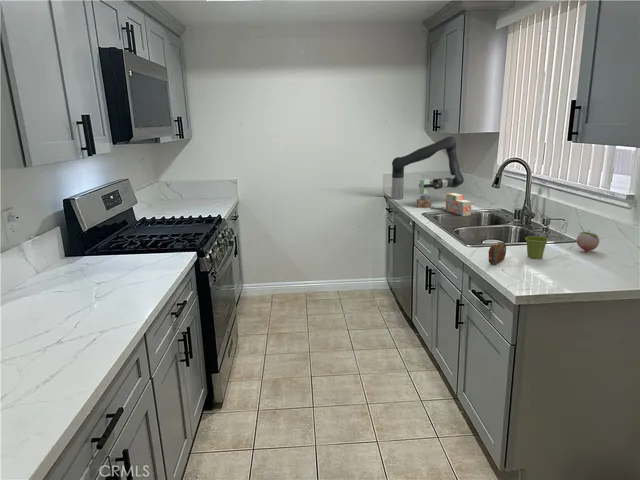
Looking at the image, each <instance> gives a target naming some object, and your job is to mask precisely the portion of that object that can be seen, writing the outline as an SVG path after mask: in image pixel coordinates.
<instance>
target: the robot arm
mask: <svg viewBox="0 0 640 480" xmlns="http://www.w3.org/2000/svg"><path fill="white" fill-rule="evenodd" d="M444 149H445V151H446V154H447V157H448V167H449V171H450V175H451V176H454V177H453V178H451V177H445V178H444V177H442V178H441V177H440V178H434V179H433V180H432V181H430V184H429V185H428V184H425V185H424V188H426V187H429V189H432V188H433V189H434V190H439V189H444V188H453V189H454V188H457V187H459V186H461V185H462V184H464V181H465V179H464V178H465V177H464V175H462V174H463V173H462V171H461V170H460V165H459V160H458V156H457V141H456V138H455V137H454V136H447V137H445V138H442V139H440V140H439V141H436V142H435V143H431V144H430V145H427V146H424V147H421V148H418V149H416V150H414V151H413V152H411V153H408V154H406V155H404V156H398V157H395V158H394V159H393V160H392V162H391V166H392V171H391V172H392V174H391V180H392V181H391V193H390V194H391V196H390V197H391V198H390V199H392V200H402V199H404V180H405V179H404V177H405V175H404V174H405V167H406V166H408V165H409V166H410V164H414V163H418V162H422V161H425V160H426V159H429V158H431V157H432V156H434V155H435V154H436V153H438V152H440V151H442V150H444ZM418 188H420V183H418Z"/></svg>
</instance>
